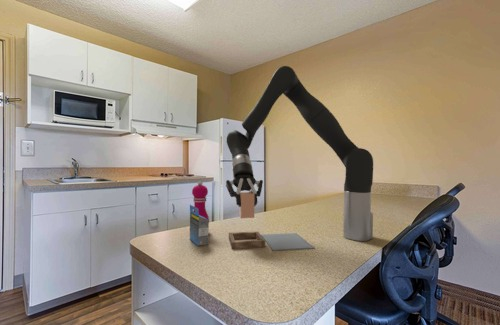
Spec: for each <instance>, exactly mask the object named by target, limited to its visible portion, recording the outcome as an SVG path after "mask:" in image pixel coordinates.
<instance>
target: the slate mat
mask: <svg viewBox="0 0 500 325" xmlns="http://www.w3.org/2000/svg"><path fill="white" fill-rule="evenodd" d="M260 235H261V236H262V237H263V239H264V240H265V244H267V245H268V246H269V248H270V250H271V251H273V252H274V251H293V250H295V251H296V250H312V249H315V246H313V245H312V244H311V243H309V242H308V241H307V240H306V239H304V238H303V237H302V236H301V235H300V234H298V233H297V232H291V233H290V232H289V233H287V232H286V233H265V234H264V233H263V234H262V233H260Z"/></svg>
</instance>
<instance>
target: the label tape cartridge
mask: <svg viewBox="0 0 500 325" xmlns="http://www.w3.org/2000/svg"><path fill="white" fill-rule="evenodd" d="M194 210H195V212H194ZM209 224H210V219H209V220H208V219H206V218H204V217H202V216H200V215H199V212H198V208H196V207H194V205H192V204H189V240H190V241H192V242H193V243H194V244H195V245H196V246H197V247H201V246H207V245H209Z"/></svg>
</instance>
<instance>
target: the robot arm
mask: <svg viewBox="0 0 500 325" xmlns="http://www.w3.org/2000/svg"><path fill="white" fill-rule="evenodd" d="M282 95H284V96H285V97H287V98H288V100H289V101H290V102H291V103H293V105H294V106H295V107H296V109H297V111H298V112H299V113H300V115H301V116H302V118H303V119H304V121H305V123H307V125H308V126H309V127H310V128H311V129H312V130H313V131H314V132H315V134H317V136H318V137H319V138H320V139H321V140H323V141H324V142H325V144H327V145H328V146H329V147H330V148H331V149H332V150H333V152H334V153H335V155H336V156H337V157H338V158H339V160H340V161H341V164H343V166H344V168H345V179H344V183H343V229H342V230H343V233H342V234H343V237H344V238H346V239H347V240H348V239H349V240H352V241H357V242H360V241H361V242H366V241H370V240H373V239H374V238H373V237H374V236H373V235H374V234H373V232H374V213H373V212H372V208H371V205H372V204H371V202H372V201H371V200H372V198H371V197H372V186H373V183H374V182H373V181H374V179H373V178H374V157H373V155H372V154H371V152H370V151H369V150H367V149H366V148H361V147H360V148H359V147H358V146H357V145H356V144H355V143H354V142H353V141H352V140H351V139H350V137H348V136H347V135H346V133H345V131H344V130H343V127H342V126H341V124H340V123H339V121H338V120H337V118H336V116H334V114H333V113H332V112H331V111H330V110H329V109H328V107H327V106H325V104H323V103H322V102H321V101H320V100H318V98H316V97H315V96H314V95H312V94H311V93H310V92H309V91H308V89H306V87H305V86H304V85H303V83H302V82H301V80H300V78H299V77H298V75H297V73H296V71H295V70H294V68H292V67H290V66H287V65H282V66H280V67H278V68H277V69H276V70H275V72H274V73H273V75H272V77H271V78H270V81H269V83H268V84H267V85H266V88H265V90H264V92H263V93H262V94H261V96H260V98H259V99H258V100H257V102H256V103H255V105H254V106H253V108H252V109H251V110H250V112H249V113H248V115H246V117H245V118H244V120H243V121H242V123H241V126H242V128H243V129H244V130H245V134H243V133H242V132H240V131H238V130H236V129H232V130H231V131H229V132H228V134H227V136H226V145H227V147H228V150H229V152H230V154H231V158H232V166H231V167H232V175H233V176H232V177H233V179H232V180H229V179H227V180H226V181H225V187H226V189H227V192H228V194H229V195H230V197H231V198H235V201H236V206H238V207H241V198H240V193H241V192H243V191H244V192H252V193H254V207H256V206H257V205H258V202H259V201H258V198H259V197H261V194H262V188H263V184H264V181H263V179H260V180H257V179H255V175H254V171H253V165H252V161H251V158H250V152H249V148H250V147H251V145H252V143H253V140H254V137H255V136H256V133H257V132H258V130H259V129H260V128H261V126H262V125H263V123H264V122H265V121H266V120H267V118H268V116H269V115H270V113H271V110H272V108H273V106H274V105H275V103H276V102H277V101H278V99H279V98H281V96H282ZM233 185H234V186H235V187H236V191H235V189H234V187H233ZM255 185H256V187H257V190H256V189H255Z"/></svg>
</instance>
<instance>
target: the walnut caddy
mask: <svg viewBox="0 0 500 325" xmlns="http://www.w3.org/2000/svg"><path fill="white" fill-rule="evenodd" d="M239 239H245V240H239ZM246 239H253V240H246ZM228 241H229V245H230V247H231V250H233V249H235V250H236V249H253V248H255V249H257V248H266V241H265V240H264V239H263V237H262V236H261V233H260V232H259V231H238V232H236V231H235V232H228Z"/></svg>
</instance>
